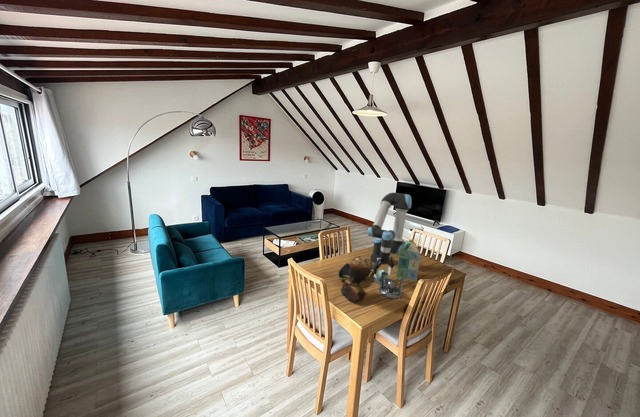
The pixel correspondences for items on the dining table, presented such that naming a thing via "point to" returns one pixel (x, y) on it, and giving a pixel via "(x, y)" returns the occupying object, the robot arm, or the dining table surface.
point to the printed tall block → (408, 261)
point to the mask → (347, 272)
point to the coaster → (380, 281)
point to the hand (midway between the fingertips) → (382, 276)
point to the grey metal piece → (390, 288)
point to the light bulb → (381, 275)
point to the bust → (356, 278)
